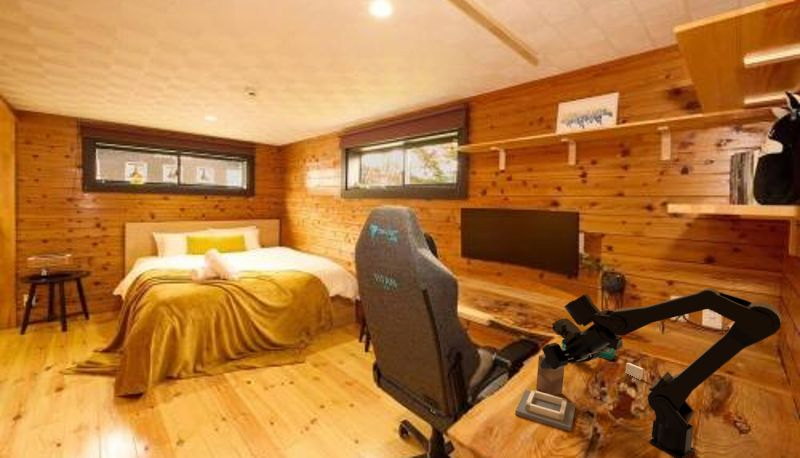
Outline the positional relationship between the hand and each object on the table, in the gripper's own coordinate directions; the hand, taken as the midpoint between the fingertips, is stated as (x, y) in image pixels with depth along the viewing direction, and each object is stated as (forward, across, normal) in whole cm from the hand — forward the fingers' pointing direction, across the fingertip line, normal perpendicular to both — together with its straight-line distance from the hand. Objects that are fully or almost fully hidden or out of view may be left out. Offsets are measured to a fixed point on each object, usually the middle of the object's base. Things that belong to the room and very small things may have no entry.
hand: (551, 364), depth 109 cm
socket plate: (+1, +10, +10) cm, 14 cm away
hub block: (+6, 0, +6) cm, 8 cm away
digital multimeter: (+16, -42, -4) cm, 45 cm away
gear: (+15, -28, -3) cm, 32 cm away
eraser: (+2, -35, +9) cm, 36 cm away
